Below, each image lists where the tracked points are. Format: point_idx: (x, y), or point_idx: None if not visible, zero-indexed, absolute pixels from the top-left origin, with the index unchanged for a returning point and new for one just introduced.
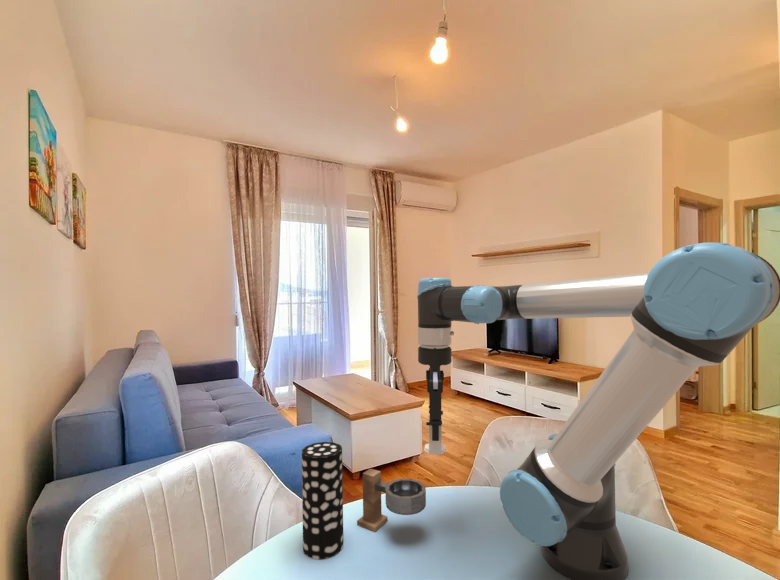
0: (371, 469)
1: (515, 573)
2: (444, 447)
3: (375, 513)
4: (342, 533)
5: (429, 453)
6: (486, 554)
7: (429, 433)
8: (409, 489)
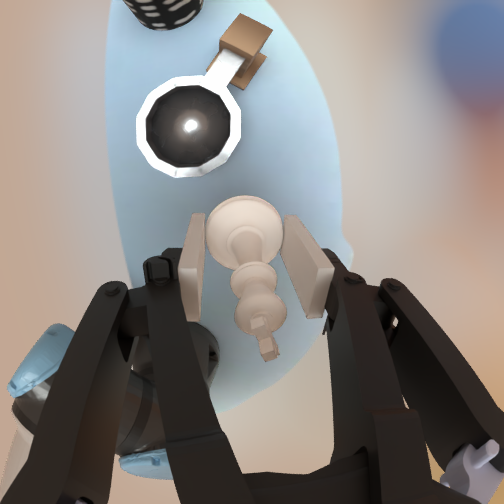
0: (266, 32)
1: (130, 280)
2: (235, 268)
3: None
4: (158, 22)
5: (192, 215)
6: (160, 252)
7: (183, 248)
8: (229, 133)
